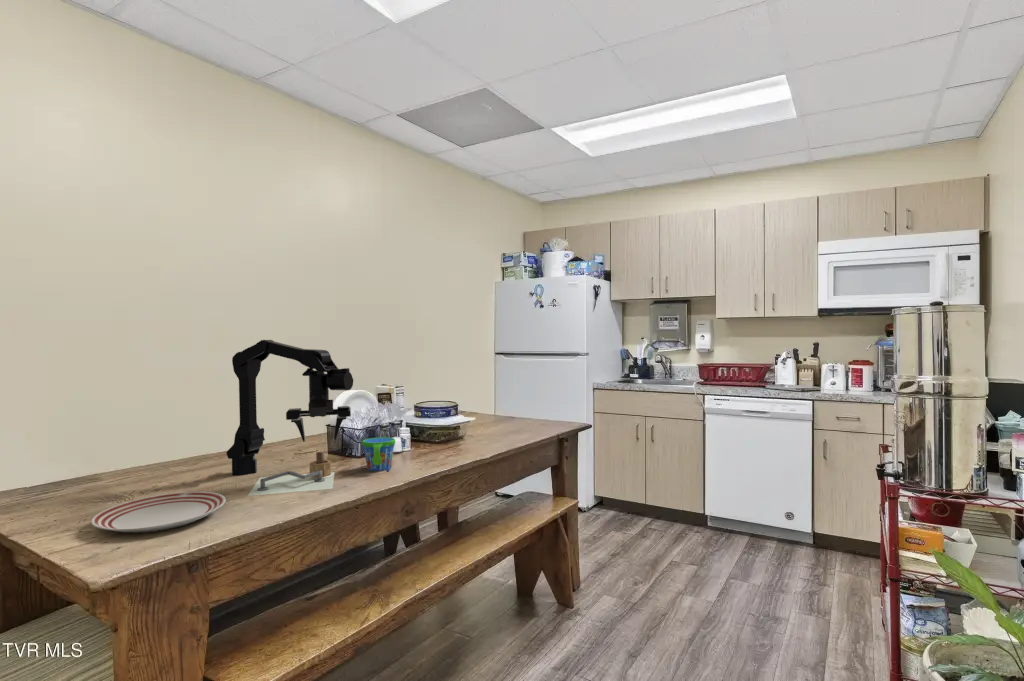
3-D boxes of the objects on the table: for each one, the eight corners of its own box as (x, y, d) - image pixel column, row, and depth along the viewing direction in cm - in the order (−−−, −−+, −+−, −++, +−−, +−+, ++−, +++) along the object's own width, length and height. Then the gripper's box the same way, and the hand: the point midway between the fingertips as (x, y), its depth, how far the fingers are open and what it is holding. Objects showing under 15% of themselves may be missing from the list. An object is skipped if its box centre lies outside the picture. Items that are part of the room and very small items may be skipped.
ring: (306, 475, 171) (305, 462, 171) (322, 471, 176) (322, 459, 176) (318, 478, 168) (318, 465, 168) (334, 474, 173) (334, 461, 173)
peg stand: (306, 480, 167) (305, 455, 167) (307, 474, 175) (307, 450, 175) (333, 478, 170) (333, 454, 170) (334, 472, 177) (334, 449, 177)
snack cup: (368, 465, 190) (368, 435, 190) (399, 464, 190) (399, 435, 190) (357, 476, 174) (356, 444, 174) (391, 476, 175) (390, 443, 174)
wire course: (247, 498, 151) (247, 484, 151) (259, 480, 172) (259, 468, 172) (332, 491, 158) (332, 478, 158) (334, 474, 178) (334, 462, 178)
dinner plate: (168, 543, 119) (168, 528, 119) (59, 538, 123) (59, 523, 123) (249, 505, 146) (249, 492, 146) (157, 502, 150) (157, 489, 150)
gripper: (283, 393, 162) (284, 447, 162) (350, 391, 167) (351, 443, 167) (287, 390, 173) (288, 440, 173) (350, 388, 178) (351, 437, 178)
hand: (319, 440), depth 172 cm, fingers open, 9 cm apart
